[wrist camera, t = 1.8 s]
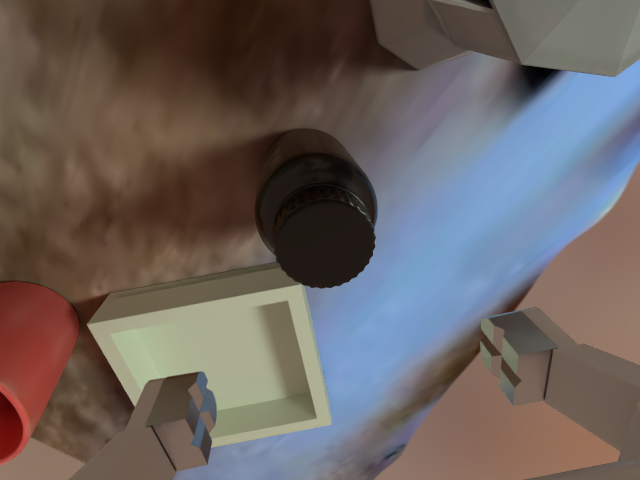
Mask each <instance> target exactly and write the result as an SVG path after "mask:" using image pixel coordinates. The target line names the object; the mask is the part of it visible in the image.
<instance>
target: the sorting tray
mask: <svg viewBox="0 0 640 480" xmlns="http://www.w3.org/2000/svg"><path fill="white" fill-rule="evenodd" d="M87 326H88V328H89V329H90V331H91V333H92V335H93V336H94V338H95V340H96V341H97V343H98V345H99V347H100V348H101V350H102V352H103V353H104V355H105V357H106V358H107V360H108V362H109V364H110V365H111V367H112V369H113V370H114V372H115V374H116V376H117V377H118V379H119V381H120V382H121V384H122V386H123V388H124V389H125V391H126V393H127V394H128V396H129V398H130V400H131V401H132V403H133V405H134V406H136V404H137V402H138V400H139V397H140V395H141V393H142V391H143V388H144V386H145V384H146V383H147V382H148V381H149V380H153V379H159V378H166V377H169V376H175V375H181V374H187V373H193V372H199V371H202V372H204V373H205V375H206V377H207V379H208V383H207V387H206V388H207V389H209V390H211V391H212V392H213V394H214V396H215V400H216V405H217V418H216V424H215V427H214V428H213V429H212V430H211V432H210V433H209V435H210V437H211V439H212V445H211V448H212V447H217V446H222V445H227V444H232V443H238V442H243V441H248V440H253V439H259V438H264V437H269V436H274V435H280V434H285V433H290V432H295V431H300V430H306V429H311V428H316V427H321V426H327V425H332V422H331V415H330V407H329V400H328V392H327V387H326V382H325V377H324V373H323V368H322V364H321V359H320V355H319V350H318V345H317V341H316V336H315V332H314V327H313V322H312V318H311V313H310V309H309V304H308V300H307V295H306V290H305V286H304V285H302V284H301V283H299V282H295V281H294V280H293V279H292V278H290V277H288V276H287V274H286V272H284V271H283V270H281V267H280V264H278V262H275V263H270V264H265V265H259V266H254V267H249V268H243V269H238V270H233V271H227V272H222V273H216V274H211V275H206V276H200V277H195V278H190V279H184V280H179V281H174V282H168V283H163V284H158V285H152V286H147V287H142V288H136V289H131V290H125V291H120V292H115V293H110V294H109V295H108V297H107V298H106V299H105V301H104V302H103V303H102V305H101V306H100V307H99V309H98V310H97V311H96V313H95V314H94V315H93V317H92V318H91V319H90V321H89V322H88V323H87Z"/></svg>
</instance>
